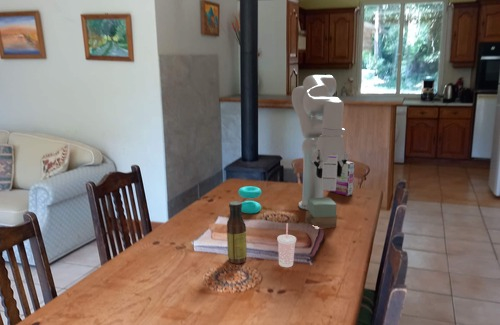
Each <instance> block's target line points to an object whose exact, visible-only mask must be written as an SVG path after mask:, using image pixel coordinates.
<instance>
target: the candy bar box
mask: <svg viewBox="0 0 500 325" xmlns="http://www.w3.org/2000/svg"><path fill="white" fill-rule="evenodd" d="M355 163H356V162H354V161H348V160H347V162H346V163H345V164H344V166H343V167H342V174H341V177H339V176H337V179H336V191H329V192H330V193H335V194H338V195H342V196H346V197H349V196H352V195H354V181H355V180H354V177H355V165H356V164H355ZM337 165H338V164H337Z"/></svg>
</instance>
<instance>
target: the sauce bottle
mask: <svg viewBox="0 0 500 325" xmlns="http://www.w3.org/2000/svg"><path fill="white" fill-rule="evenodd" d="M228 204H229V206H228V207H229V217H228V219H227V220H226V222H227V223H226V239H227V240H226V241H227V257H228V261H229V262H230V263H232V264H236V265H237V264H242V263H243V264H244V263H245V262H246V261H247V255H248V252H247V251H248V250H247V247H248V246H247V228H246V227H247V226H246V223H245V221H244V218H243V212H242V211H241V208H242V202H241V201H239V200H237V201H235V200H234V201H230V202H229V203H228Z"/></svg>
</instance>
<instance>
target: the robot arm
mask: <svg viewBox="0 0 500 325" xmlns="http://www.w3.org/2000/svg"><path fill="white" fill-rule="evenodd" d="M336 91H337V80H336V78H335V77H334V76H333V75H331V74H326V75H325V74H312V75H308V76H306V77H305V78H304V79H303V82H302V85H299V86H297V87H294V88H293V89H292V92H291V104H292V107H293V109H294V112H295V114H296V115H297V117H298V120H299V123H300V124H299V125H300V128H301V133H302V136H303V138H304V140H303V142H302V144H301V148H302V149H301V150H302V157H303V158H302V159H303V166H302V168H303V172H302V174H303V175H302V198H301V201H299V202H298V207H299V208H300V209H302V210H305V211H308V198H324V197H325V196H324V195H325V190H321V181H322V165H323V162H327V159H328V157H329V155H330V154H337V155H338V159H337V164H338V165H337V176H339V177H341V174H342V167H343V166H344V164H345V163H346V162H347V161H348V160H349V159H350V157H351V156H350V154H348V153H347V151H345V141H344V136H343V133H345V132H346V130H345V128H343V124H344V122H343V121H344V109H345V105H344V104H345V103H344V101H343V100H341V99H340V98H339V97H337V96H333V95H334V94H335V93H336ZM319 117H322V119H321V118H319Z"/></svg>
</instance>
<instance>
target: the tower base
mask: <svg viewBox="0 0 500 325" xmlns="http://www.w3.org/2000/svg"><path fill="white" fill-rule="evenodd" d="M304 218H305V219H304V220H305V223H306V224H308V225H309V224H311V225H314V226H318V227H320V228H322V229H330V228H335V227H337V221H338V215H337V214H336V216H334V217H313V216H312V214H311V213H310V212H309V210H305V217H304ZM311 225H310V226H311ZM322 229H321V230H322Z"/></svg>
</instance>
